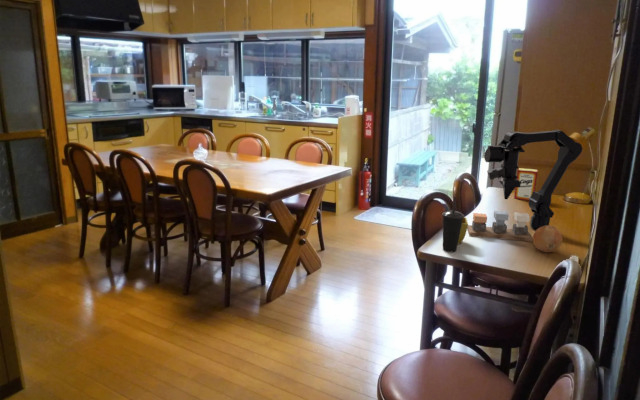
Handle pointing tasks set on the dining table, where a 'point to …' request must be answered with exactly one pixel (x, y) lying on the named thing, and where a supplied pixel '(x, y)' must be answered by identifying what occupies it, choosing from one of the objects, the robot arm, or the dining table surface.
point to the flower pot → (463, 230)
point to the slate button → (500, 217)
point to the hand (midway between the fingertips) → (505, 199)
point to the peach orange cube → (479, 218)
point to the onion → (547, 238)
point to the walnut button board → (499, 232)
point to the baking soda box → (526, 183)
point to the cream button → (521, 219)
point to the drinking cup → (451, 229)
